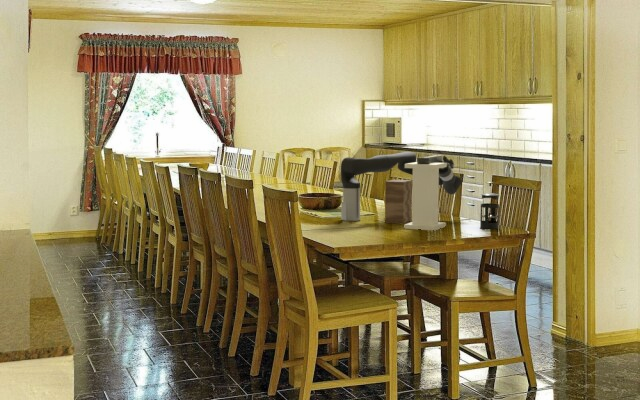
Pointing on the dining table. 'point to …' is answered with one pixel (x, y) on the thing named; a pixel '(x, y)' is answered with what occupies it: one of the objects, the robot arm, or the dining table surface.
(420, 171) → the tall stand
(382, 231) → the dining table surface
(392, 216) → the low block
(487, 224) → the french press
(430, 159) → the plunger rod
